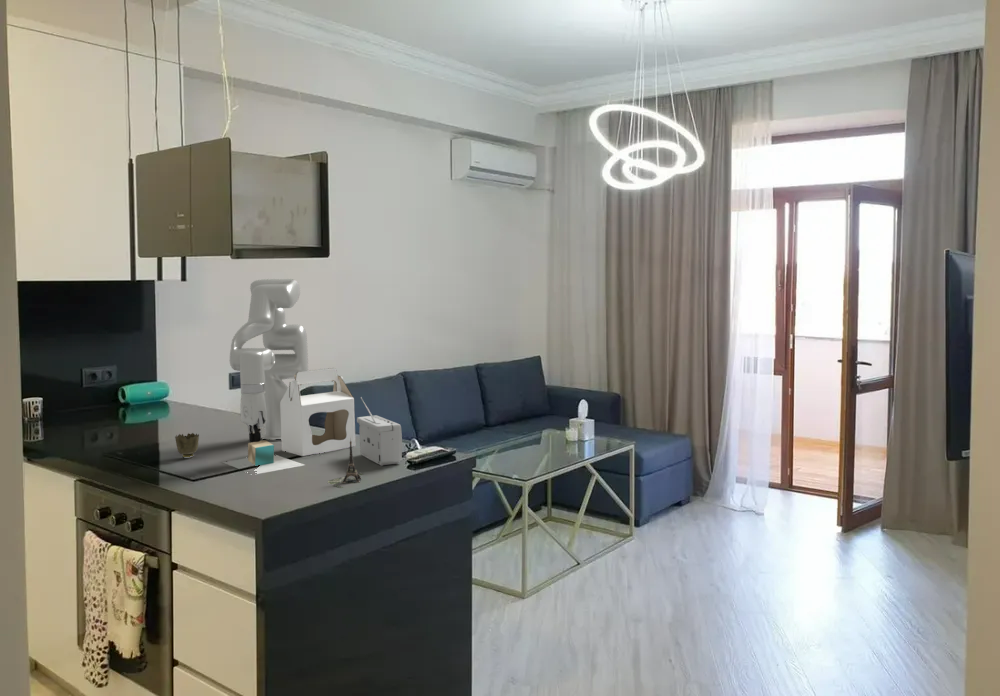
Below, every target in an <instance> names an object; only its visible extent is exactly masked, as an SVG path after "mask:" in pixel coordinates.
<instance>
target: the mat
mask: <svg viewBox="0 0 1000 696" xmlns="http://www.w3.org/2000/svg"><path fill="white" fill-rule="evenodd" d="M275 455H276V456H274V463H271V464H265V465H260V466H259V467H258V468H257V469H255V470H254V471H257V472H255V473H257V474H256V475H260V474H265V473H266V474H267V473H270V472H271V473H272V472H275V471H276V472H277V471H282V470H287V469H292V468H297V467H303V466H305V464H304V463H302V462H301V463H300V462H298V461H295V460H291V459H289V458H286V457H284V456H280V455H277V454H275ZM246 474H248V472H247V473H246ZM250 476H253V475H252V474H250Z"/></svg>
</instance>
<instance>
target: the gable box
mask: <svg viewBox="0 0 1000 696" xmlns="http://www.w3.org/2000/svg"><path fill="white" fill-rule="evenodd" d="M294 378H295V379H293V380H292V381H289V385H288V386H287V387H288V389H287V391H286V393H285V394H284V396H283V398H282V400H281V402H280V413H281V440H280V441H281V451H282V452H285V451H286V452H285V453H288V454H294V455H297V456H301V457H305V456H309V455H315V454H316V455H320V454H324V452H325V453H329V452H334V451H340V450H345V449H350V441H351V442H352V448H355V447H356V423H355V422H356V421H355V420H356V419H355V397H354V395H352V392H351V391H350V390H349V388H348V386H347V384H346V383H345V381H344V377H343V375H338V371H337V368H335V367H329V368H320V369H310V370H308V371H301V372H297V373H296V375H294ZM326 382H333V389H332V390H333V391H329V392H319V393H314V394H313V393H312V394H307V395H301V394H300V387H299V386H302V385H303V386H304V385H309V384H319V383H326ZM317 413H326V415H325V417H324V422H323V423H324V433H323V434H322V435H317V434H313V433H312V429H311V425H310V422H309V420H310V417H311V416H312V415H314V414H317ZM350 438H351V440H350ZM319 453H320V454H319Z"/></svg>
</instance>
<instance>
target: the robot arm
mask: <svg viewBox="0 0 1000 696" xmlns="http://www.w3.org/2000/svg"><path fill="white" fill-rule="evenodd" d="M249 289H250V290H249V291H250V295H251V296H250V304H249V310H248V311H249V312H248V320H247V322H246V323H244V324H243V325H242V326H241V327H240V328H239V329H238V330H237V331H236V333H235V334H234V336H233V338H232V340H231V343H230V351H229V364H230V367H231V369H232V370H234V371H237V372H239V375H240V376H239V377H240V379H239V380H240V408H239V409H240V421H241V423H243V424H245V425H246V426H247V429H248V437H249V442H248V443H251V442H258V441H262V439H261V438H264V439H281V413H280V402H281V400H282V398H283V396H284V394H285V393H286V391H287V389H288V387H289V386H287V385H286V383H285V382H284V380H295V378H294V375H296V373H297V372H301V371H309V355H308V354H309V353H308V335H307V331H306V329H305V327H304V326H303V325H300V324H287V322H286V311H285V309H291V308H293V307H294V306H295V304H296V303H297V302H298V301H299V298H300V295H301V287H300V284H299V282H298V281H297V280H296V279H292V278H290V279H289V278H283V279H282V278H281V279H279V278H278V279H277V278H276V279H275V278H270V279H269V278H268V279H266V278H265V279H256V280H253V281H251V283H250V287H249ZM261 335H262V343H263V347H251V348H249V347H243V346H244V345H245V344H246V343H247V342H248V341H250V340H252V339H253V338H256V337H258V336H261ZM274 351H293V352H294V353H274ZM262 429H264V433H262ZM261 433H262V434H261Z"/></svg>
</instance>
